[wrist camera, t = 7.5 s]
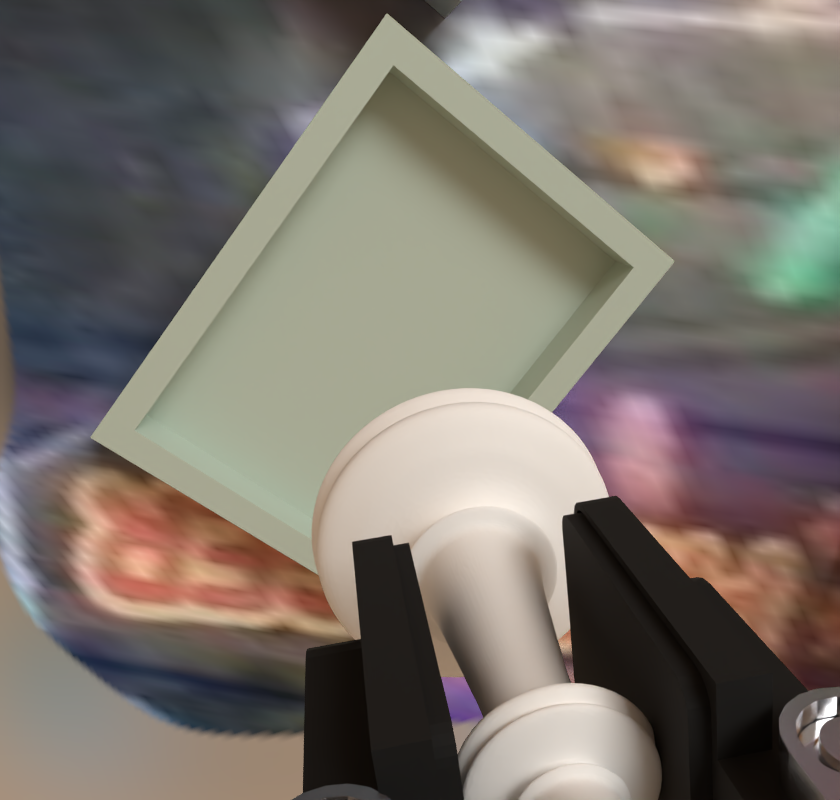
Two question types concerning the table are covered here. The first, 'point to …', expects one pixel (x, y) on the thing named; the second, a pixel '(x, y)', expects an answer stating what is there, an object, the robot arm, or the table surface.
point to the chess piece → (489, 584)
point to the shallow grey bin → (443, 6)
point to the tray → (377, 293)
